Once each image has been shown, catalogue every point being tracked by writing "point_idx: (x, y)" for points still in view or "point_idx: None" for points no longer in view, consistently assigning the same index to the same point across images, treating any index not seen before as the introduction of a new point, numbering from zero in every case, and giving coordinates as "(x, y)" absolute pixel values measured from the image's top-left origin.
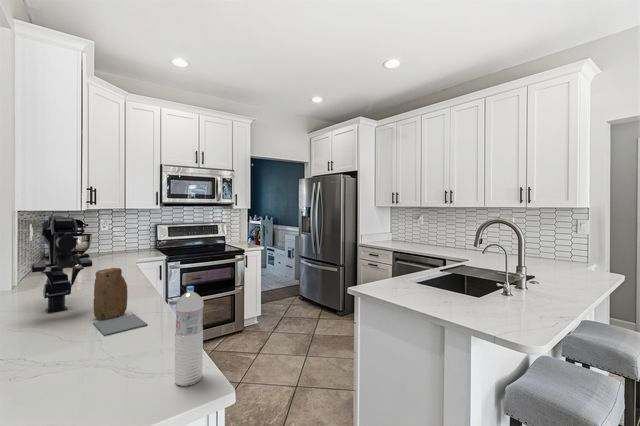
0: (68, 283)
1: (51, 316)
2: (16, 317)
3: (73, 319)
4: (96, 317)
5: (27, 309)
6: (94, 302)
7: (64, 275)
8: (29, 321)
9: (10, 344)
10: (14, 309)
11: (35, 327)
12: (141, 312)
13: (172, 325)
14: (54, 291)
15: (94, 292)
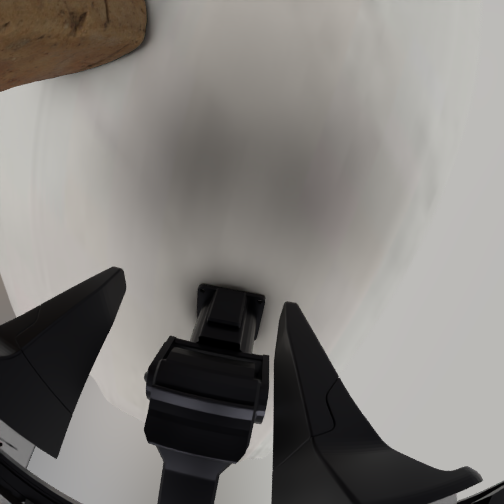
0: (154, 379)
1: (271, 242)
2: (348, 324)
3: (218, 105)
4: (145, 16)
5: None
6: (103, 9)
7: (159, 436)
8: (351, 243)
9: (471, 22)
10: None
11: (374, 129)
12: None
13: None
14: (230, 363)
15: (53, 7)
